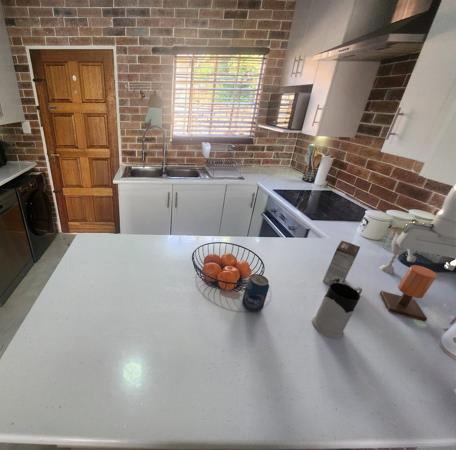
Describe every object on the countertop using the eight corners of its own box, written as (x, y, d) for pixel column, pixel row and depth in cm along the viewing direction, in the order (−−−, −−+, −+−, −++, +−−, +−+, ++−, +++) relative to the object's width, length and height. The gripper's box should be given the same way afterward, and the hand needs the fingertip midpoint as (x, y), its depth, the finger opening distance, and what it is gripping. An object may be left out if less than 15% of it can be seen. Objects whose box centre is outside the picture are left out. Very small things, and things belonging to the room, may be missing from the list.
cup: (418, 289, 88) (431, 268, 83) (426, 300, 82) (441, 279, 78) (395, 283, 90) (407, 263, 86) (402, 294, 85) (415, 273, 81)
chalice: (401, 275, 106) (423, 239, 98) (385, 274, 106) (406, 238, 98) (387, 265, 113) (407, 230, 105) (372, 264, 113) (391, 230, 104)
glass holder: (305, 320, 82) (321, 285, 75) (333, 309, 87) (350, 275, 80) (331, 342, 75) (350, 305, 68) (360, 327, 80) (380, 292, 73)
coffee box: (327, 272, 106) (341, 239, 99) (345, 279, 102) (361, 246, 95) (321, 281, 101) (336, 247, 93) (340, 289, 97) (356, 255, 89)
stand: (412, 302, 91) (435, 268, 84) (425, 321, 83) (451, 285, 76) (379, 293, 95) (398, 260, 88) (388, 311, 87) (410, 276, 80)
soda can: (240, 310, 85) (247, 283, 79) (241, 297, 91) (248, 270, 85) (262, 316, 83) (271, 288, 77) (262, 302, 89) (270, 275, 83)
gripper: (412, 224, 76) (392, 261, 82) (507, 239, 68) (477, 279, 75) (404, 216, 81) (385, 252, 87) (491, 230, 73) (464, 268, 80)
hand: (428, 264), depth 81 cm, fingers open, 8 cm apart
